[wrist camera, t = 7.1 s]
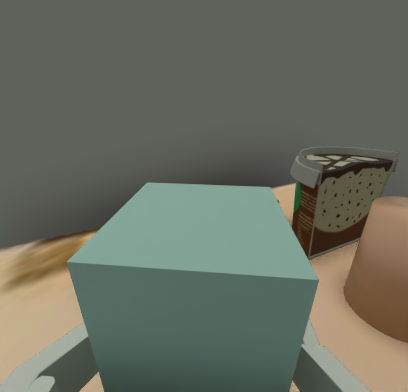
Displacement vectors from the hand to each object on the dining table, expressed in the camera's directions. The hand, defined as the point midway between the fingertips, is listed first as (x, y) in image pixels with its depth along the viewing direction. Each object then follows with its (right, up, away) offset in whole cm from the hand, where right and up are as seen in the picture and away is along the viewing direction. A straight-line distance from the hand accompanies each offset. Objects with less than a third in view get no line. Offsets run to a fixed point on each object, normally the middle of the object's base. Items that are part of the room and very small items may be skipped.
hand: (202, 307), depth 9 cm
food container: (+13, 0, +17) cm, 22 cm away
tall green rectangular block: (0, -6, +1) cm, 6 cm away
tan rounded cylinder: (+14, -4, +8) cm, 17 cm away
